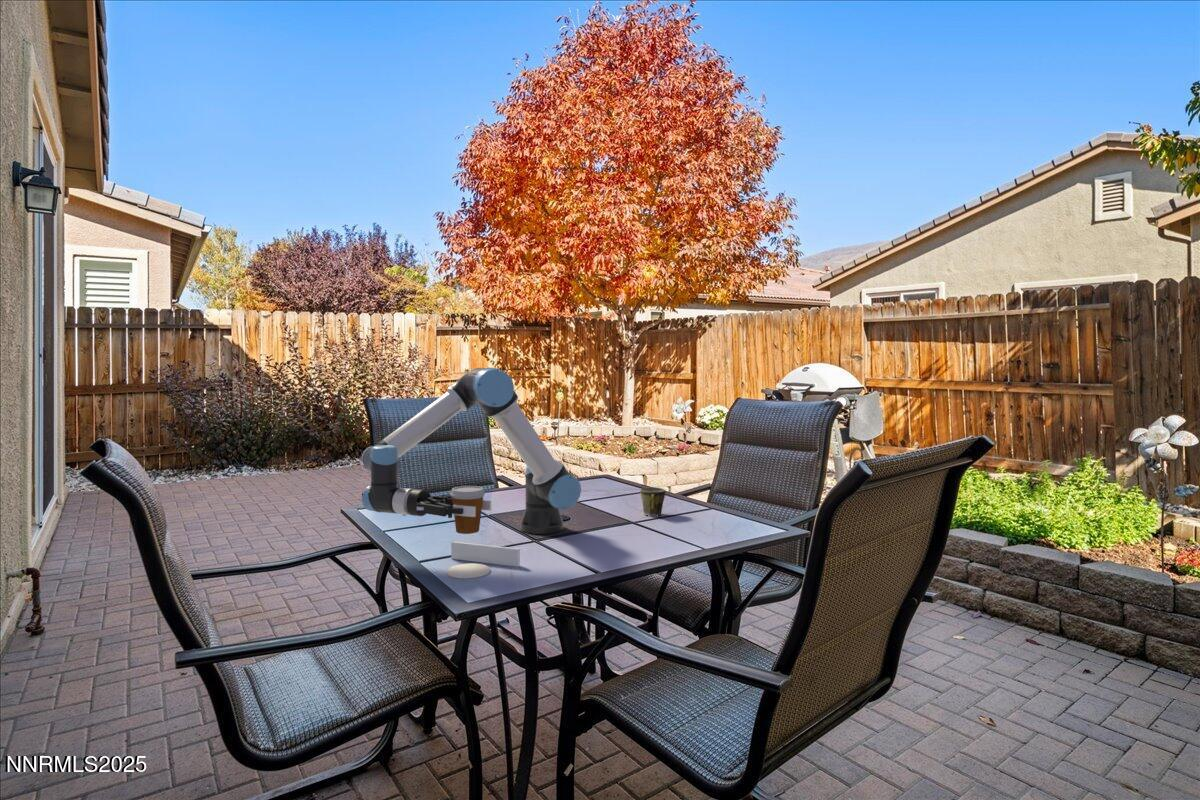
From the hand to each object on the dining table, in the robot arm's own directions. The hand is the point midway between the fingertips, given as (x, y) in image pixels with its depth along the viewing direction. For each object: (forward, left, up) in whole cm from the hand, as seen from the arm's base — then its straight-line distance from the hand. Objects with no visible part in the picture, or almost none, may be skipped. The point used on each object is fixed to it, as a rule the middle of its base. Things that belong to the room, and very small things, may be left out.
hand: (482, 508), depth 181 cm
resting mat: (+4, -1, -18) cm, 19 cm away
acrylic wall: (+2, -10, -18) cm, 21 cm away
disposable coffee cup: (+5, -1, -7) cm, 9 cm away
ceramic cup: (-47, -75, -19) cm, 91 cm away
